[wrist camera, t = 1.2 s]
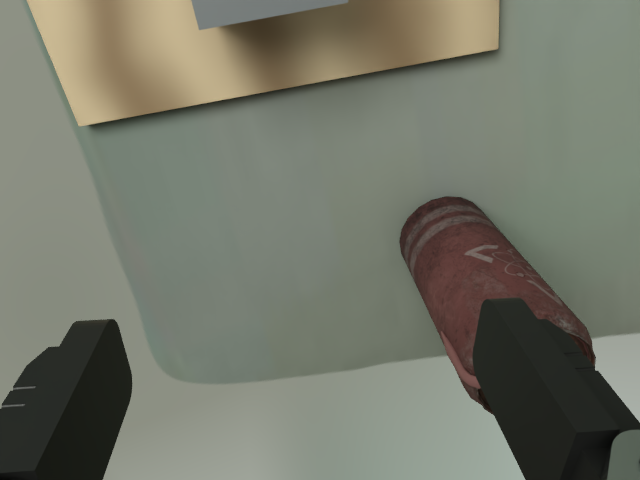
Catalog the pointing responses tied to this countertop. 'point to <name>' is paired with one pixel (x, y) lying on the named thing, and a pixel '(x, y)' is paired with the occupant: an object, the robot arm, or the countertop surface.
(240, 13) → the cover
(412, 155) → the countertop surface
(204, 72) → the board
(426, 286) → the can
